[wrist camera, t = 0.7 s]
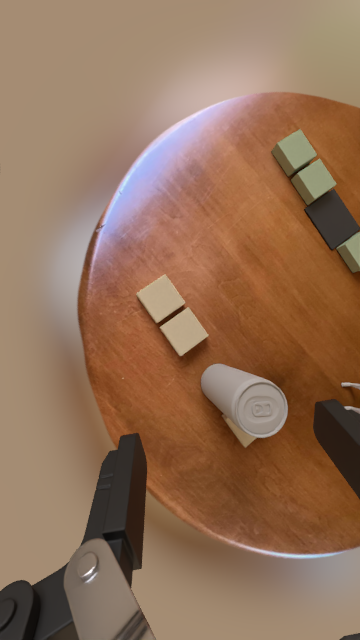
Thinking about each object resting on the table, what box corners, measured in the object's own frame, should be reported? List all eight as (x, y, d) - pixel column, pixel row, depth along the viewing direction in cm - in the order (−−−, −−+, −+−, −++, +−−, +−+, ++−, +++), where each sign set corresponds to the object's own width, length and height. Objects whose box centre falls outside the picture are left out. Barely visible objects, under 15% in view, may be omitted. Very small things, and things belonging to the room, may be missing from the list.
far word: (266, 154, 34) (272, 145, 33) (297, 135, 35) (304, 126, 34) (348, 276, 35) (358, 273, 34) (376, 254, 36) (386, 250, 35)
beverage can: (199, 363, 31) (233, 380, 19) (234, 362, 32) (288, 378, 20) (200, 401, 31) (235, 442, 19) (235, 399, 31) (290, 437, 20)
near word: (136, 295, 30) (135, 293, 29) (164, 277, 31) (165, 273, 30) (240, 442, 31) (245, 448, 30) (265, 420, 32) (271, 425, 30)
